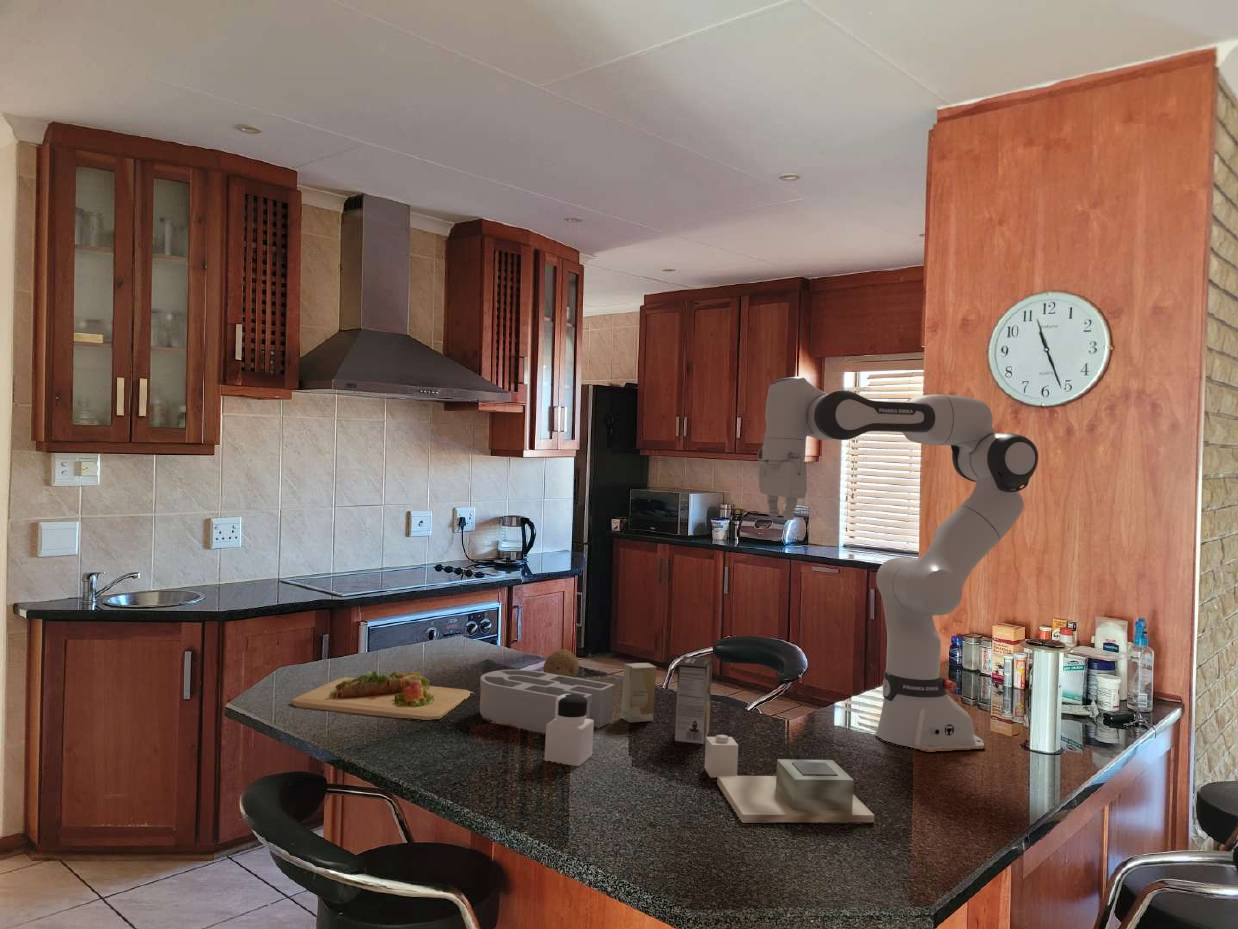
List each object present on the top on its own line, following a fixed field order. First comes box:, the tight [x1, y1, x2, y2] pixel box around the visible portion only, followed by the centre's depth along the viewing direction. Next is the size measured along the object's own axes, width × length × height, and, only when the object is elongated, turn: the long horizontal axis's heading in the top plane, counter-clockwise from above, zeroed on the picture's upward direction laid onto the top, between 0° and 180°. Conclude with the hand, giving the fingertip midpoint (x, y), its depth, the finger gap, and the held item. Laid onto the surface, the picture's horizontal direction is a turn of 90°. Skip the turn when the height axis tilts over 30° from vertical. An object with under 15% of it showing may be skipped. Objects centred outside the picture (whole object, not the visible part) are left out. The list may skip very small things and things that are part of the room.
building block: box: [704, 734, 739, 778], centre depth 169 cm, size 5×5×7 cm
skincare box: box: [620, 662, 657, 724], centre depth 201 cm, size 6×4×12 cm
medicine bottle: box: [544, 694, 594, 767], centre depth 172 cm, size 7×7×12 cm
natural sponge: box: [542, 649, 580, 678], centre depth 224 cm, size 9×9×10 cm
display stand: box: [716, 758, 875, 824], centre depth 155 cm, size 22×18×7 cm
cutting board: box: [291, 669, 474, 720], centre depth 207 cm, size 35×23×8 cm
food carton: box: [674, 655, 713, 745], centre depth 191 cm, size 9×6×16 cm
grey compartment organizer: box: [479, 669, 615, 733], centre depth 197 cm, size 17×28×9 cm, turn 64°
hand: (780, 518), depth 192 cm, fingers open, 8 cm apart
